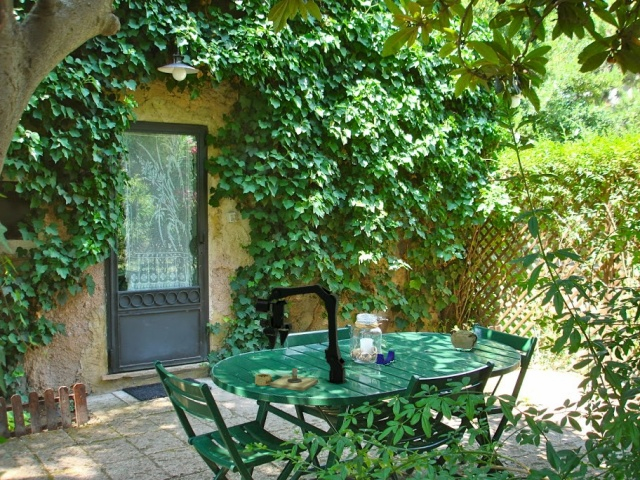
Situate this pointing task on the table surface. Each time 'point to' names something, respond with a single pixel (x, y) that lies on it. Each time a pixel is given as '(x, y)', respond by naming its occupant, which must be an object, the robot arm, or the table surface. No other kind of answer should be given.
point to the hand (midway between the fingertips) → (277, 347)
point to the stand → (294, 382)
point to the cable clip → (389, 358)
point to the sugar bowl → (463, 338)
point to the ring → (263, 379)
